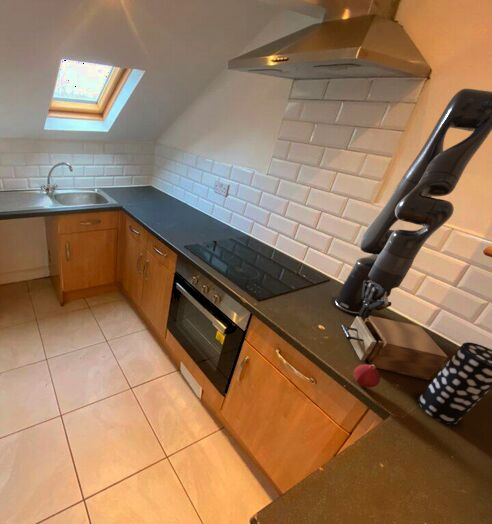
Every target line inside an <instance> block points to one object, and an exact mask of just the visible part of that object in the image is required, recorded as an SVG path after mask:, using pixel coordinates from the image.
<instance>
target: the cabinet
mask: <svg viewBox="0 0 492 524" xmlns="http://www.w3.org/2000/svg"><path fill="white" fill-rule="evenodd" d="M365 320H369V321H370V323H371V324H372V326H373V327H374V329H375V330H376V332H377V333H378V335H379V336H380V338H381V339H382V341H383V342H384V344H383V346H382V347H381V349H380V350H379V352H378V353H377V355H376V356H375V358H374V360H373V361H372V360H369V359H368V357H367V358H366V360H367V362H368V364H369V365H374V366H375V368H376V369H380V370H384V371H388V372H392V373H398V374H402V375H406V376H410V377H414V378H418V379H422V380H426V381H430V379H431V378H432V377H433V376H434V374H436V372H437V371H438V370H439V369H440V367H442V365H443V364H444V362H445V361H446V360H447V359H448V355H447V354H446V353H445V352H444V350H442V348H440V346H439V345H438V344H437V343H436V342H435V341H434V340H433V338H432V337H431V336H430V335H429V334H428V332H427V331H425V329H424V328H423V327H422V326H420V325H416V324H411V323H406V322H402V321H397V320H392V319H388V318H383V317H378V316H373V315H370V316H369V317H368V318H364V321H365Z"/></svg>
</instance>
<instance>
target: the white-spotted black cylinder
mask: <svg viewBox="0 0 492 524" xmlns="http://www.w3.org/2000/svg"><path fill="white" fill-rule="evenodd" d="M491 389H492V349H491V348H490V347H487V346H484V345H482V344H480V343H479V344H478V343H475V342H471V341H470V342H469V341H468V342H467V341H465V342H463V343H462V345H460V347H459V348H458V349H457V351H456V352H455V353H453V355H452V356H451V357H450V359H449V360H448V361H447V362H446V364H444V366H443V367H442V368H441V369H440V371H439V372H438V373H437V374H436V376H435V377H434V378H433V379H432V380H431V382H430V383H429V384H428V385H427V386H426V388H425V389H424V390H423V391H422V392H421V393H420V395H419V396H418V397H417V402H418V405H419V406H420V408H421V409H423V411H425V413H426V414H428V415H429V416H431V417H432V418H433V419H436V420H437V421H440V422H441V423H444V424H447V425H457V424H458V422H459V421H461V420H462V418H464V416H466V414H467V413H468V412H469V411H470V410H472V408H474V406H475V405H477V404H478V402H479V401H480V400H481V399H483V397H484V396H485V395H486V394H487V393H489V391H490V390H491Z"/></svg>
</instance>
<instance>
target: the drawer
mask: <svg viewBox="0 0 492 524" xmlns="http://www.w3.org/2000/svg"><path fill="white" fill-rule="evenodd" d="M340 328H341V330H342V332H343V334H344V336H345V338H346V340H348V341H349V342H350V344H351V345H352V347H353V349H354V351H355V353H356V355H357V356H358V359H359V361H362V362H365V361H366V360H367V357H368V359H369V360H372V361H373V360H374V358H375V356H376V355H377V353H378V352H379V350H380V349H381V347H382V346H383V344H384V342H383V341H382V339H381V338H380V336H379V335H378V333H377V332H376V330H375V329H374V327H373V326H372V324H371V323H370V321H369V320H365V319H363V317H361V316H360V315H359V316H358V315H356V317H354V320H353V321H352V323H351V325H350V326H347V325H346V324H341V325H340Z"/></svg>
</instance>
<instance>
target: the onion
mask: <svg viewBox="0 0 492 524" xmlns="http://www.w3.org/2000/svg"><path fill="white" fill-rule="evenodd" d="M353 377H354V380H355V381H356V383H357V384H358V386H360V387H363V388H364V387H365V388H374V387H376V386H378V385H379V384H380V381H381V375H380V373H379V370H378V368H376V367H375V366H374V365H370V364H369V363H368V364H365V363H364V364H359V365H358V366H356V367H355V368H354V371H353Z"/></svg>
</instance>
